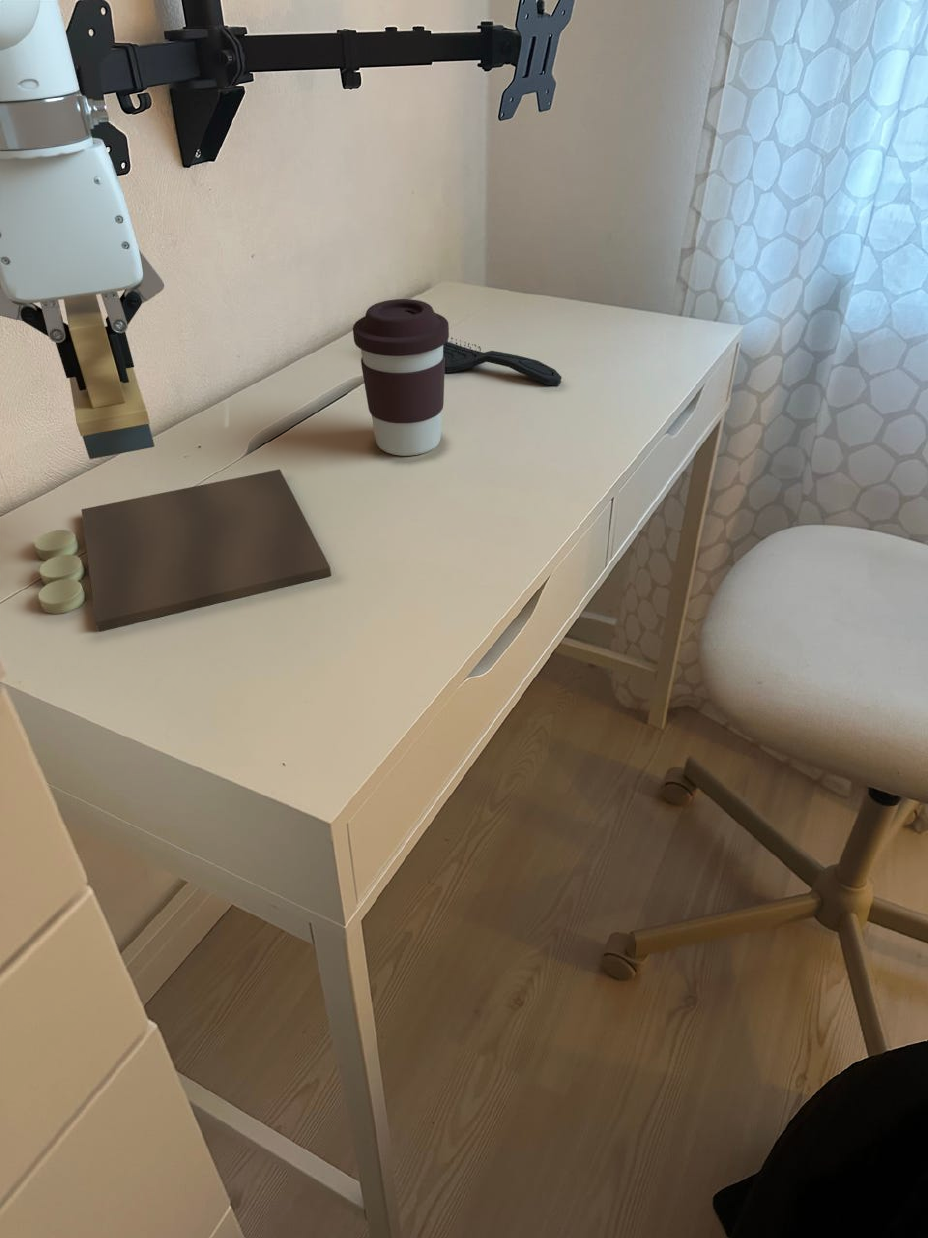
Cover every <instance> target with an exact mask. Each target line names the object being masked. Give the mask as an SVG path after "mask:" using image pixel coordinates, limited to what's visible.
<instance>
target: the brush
mask: <svg viewBox="0 0 928 1238" xmlns="http://www.w3.org/2000/svg"><path fill="white" fill-rule="evenodd" d="M63 304H64V308H65V314H66V320H67V325H68V327H69V331H70V334H71V338H72V341H73V344H74V348H75V351H76V354H77V358H78V361H79V364H80V368H81V371H82V374H83V378H84V381H85V384H86V390H82V391H80V390H79V387H78V384H77V381H76V377H72V378H68V379H69V385H70V391H71V397H72V403H73V409H74V416H75V421H76V425H77V428H78V432H79V435H80V437H82V440H83V443H84V447H85V450H86V452H87V456H88V458H89V460H94V459H99V458H104V457H109V456H115V455H121V454H124V453H131V452H135V451H141V450H146V449H150V448H154V447H155V443H154V438H153V434H152V430H151V426H150V423H151V421H150V418H149V414H148V410H147V406H146V404H145V401H144V397H143V394H142V392H141V388H140V384H139V381H138V379H137V374H136V372H135V369H134V367H133V368H127V369H126V372H127V375H128V379H129V383H123V382H120V380H119V376H118V372H117V369H116V365H115V361H114V358H113V354H112V351H111V347H110V343H109V340H108V336H107V332H106V329H105V321H104V318H103V315H102V311H101V308H100V303H99V300H98V295H90V296H83V297H76V298H69V299H63Z"/></svg>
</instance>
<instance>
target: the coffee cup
mask: <svg viewBox="0 0 928 1238" xmlns="http://www.w3.org/2000/svg"><path fill="white" fill-rule="evenodd" d="M449 326H450V324H449V321H448V319H447V318H446V317H444V316H443V315H441V314H439V313H437V312H435V310H434V307H432V305H431V304H429V303H427V302H426V301H423V300H417V299H412V298H411V299H410V298H396V299H389V300H388V299H387V300H383V301H379V302H377V303H374V304H372V305H371V306H370V307H368V308H367V310H366V312H365V315H364V316H362V317H361V318H359V319H358V320H357V321H355V323H354V324H353V326H352V335H353V336H352V337H353V342H354V345H355V346H356V347H357V348H359V349H360V353H361V358H360V365H361V372H362V378H363V384H364V389H365V395H366V402H367V407H368V408H367V409H368V411H369V413H370V415H371V420H372V425H373V432H374V438H375V442H376V445H377V447H378V448H379V449H380V450H382V451H383V452H385V453H387V454H390V455H395V456H403V457H407V456H408V457H409V456H418V455H421V454H422V455H423V454H425V453H428V452H430V451H432V450H434V449H435V448H436V447H437V446H438V445H439V443H440V441H441V437H442V411H443V409H444V402H445V401H444V400H445V399H444V398H445V356H444V353H443V345H444V344H445V343H446V342H448V341H449V337H450V327H449ZM447 340H448V341H447Z"/></svg>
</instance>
